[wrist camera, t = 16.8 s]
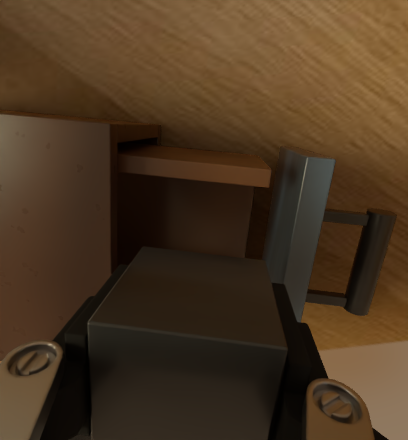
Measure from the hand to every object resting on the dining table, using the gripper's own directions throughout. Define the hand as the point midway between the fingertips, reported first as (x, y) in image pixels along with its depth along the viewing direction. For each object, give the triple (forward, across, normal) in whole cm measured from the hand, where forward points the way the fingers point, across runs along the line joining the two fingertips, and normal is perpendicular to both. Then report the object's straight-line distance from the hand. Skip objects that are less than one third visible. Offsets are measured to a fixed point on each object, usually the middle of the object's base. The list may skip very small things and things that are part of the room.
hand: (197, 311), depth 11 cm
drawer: (+11, -1, 0) cm, 11 cm away
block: (0, 0, 0) cm, 0 cm away
